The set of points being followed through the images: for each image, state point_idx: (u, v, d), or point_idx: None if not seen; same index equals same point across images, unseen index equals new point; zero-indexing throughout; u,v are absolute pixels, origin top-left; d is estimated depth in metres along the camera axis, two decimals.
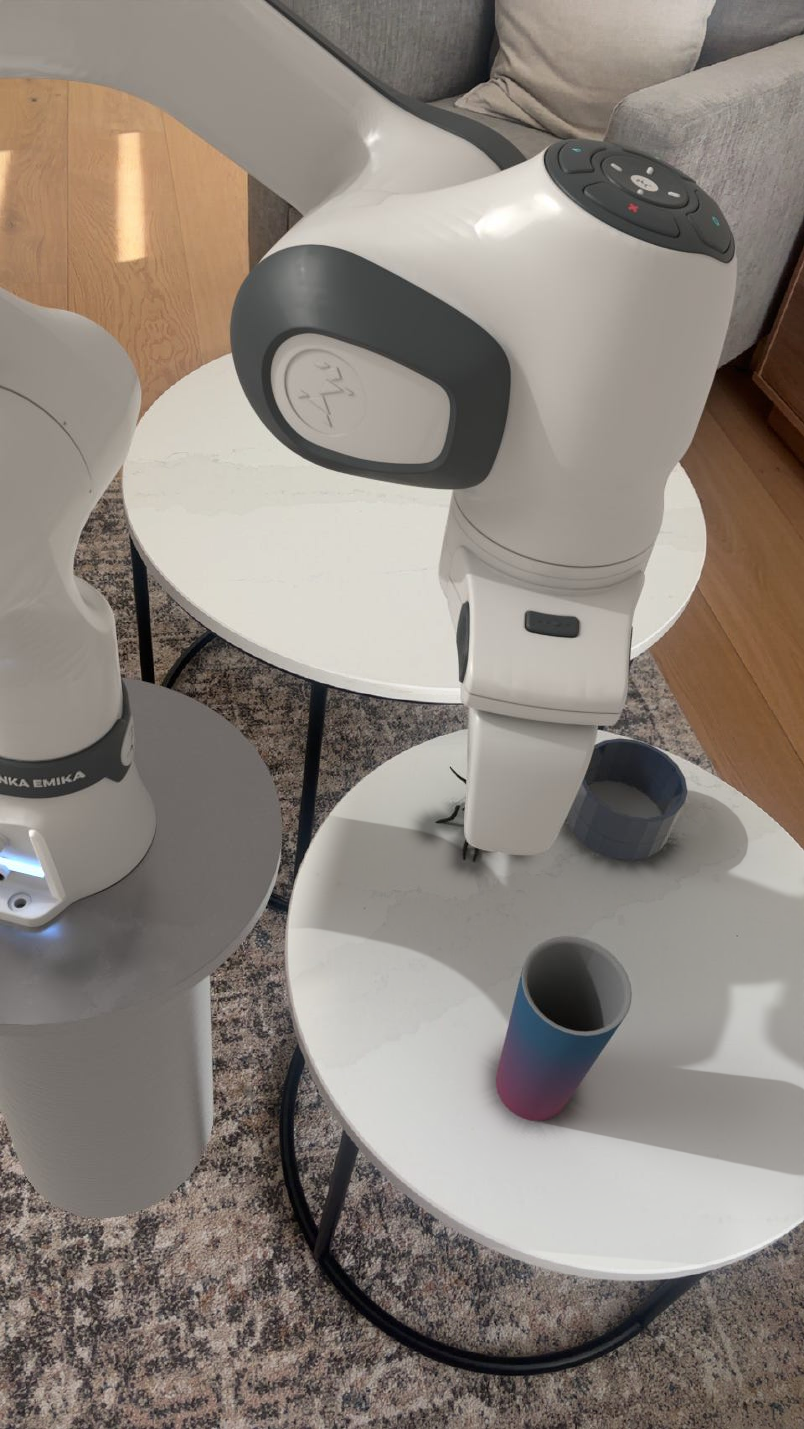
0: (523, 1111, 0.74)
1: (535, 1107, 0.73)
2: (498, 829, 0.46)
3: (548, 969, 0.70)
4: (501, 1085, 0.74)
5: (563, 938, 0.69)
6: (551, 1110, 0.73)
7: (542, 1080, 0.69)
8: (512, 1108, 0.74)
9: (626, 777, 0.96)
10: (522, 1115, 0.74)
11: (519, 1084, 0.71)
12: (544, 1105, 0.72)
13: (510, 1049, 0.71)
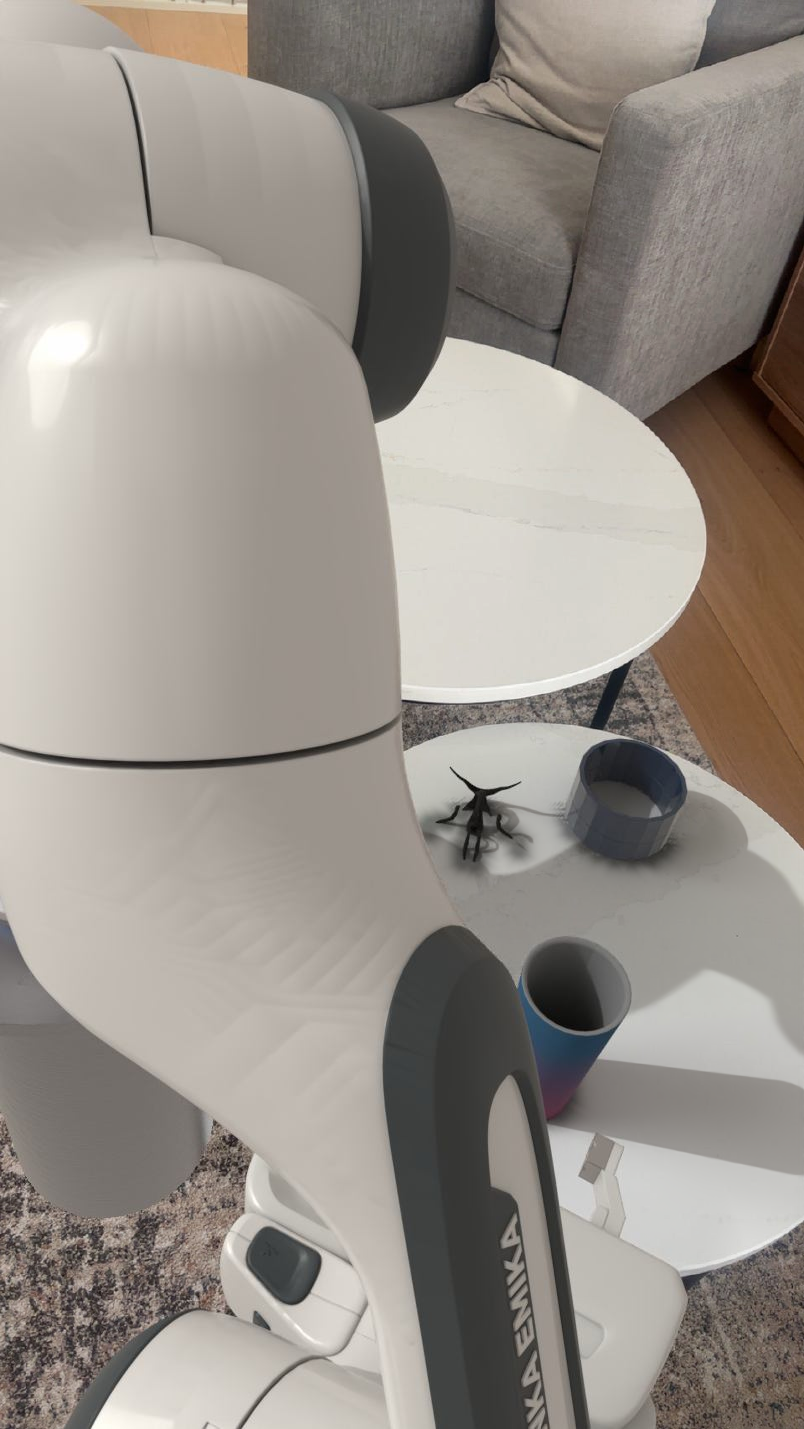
0: None
1: None
2: None
3: (548, 969, 0.70)
4: None
5: (563, 938, 0.69)
6: (551, 1110, 0.73)
7: (542, 1080, 0.69)
8: None
9: (626, 777, 0.96)
10: None
11: None
12: (544, 1105, 0.72)
13: None
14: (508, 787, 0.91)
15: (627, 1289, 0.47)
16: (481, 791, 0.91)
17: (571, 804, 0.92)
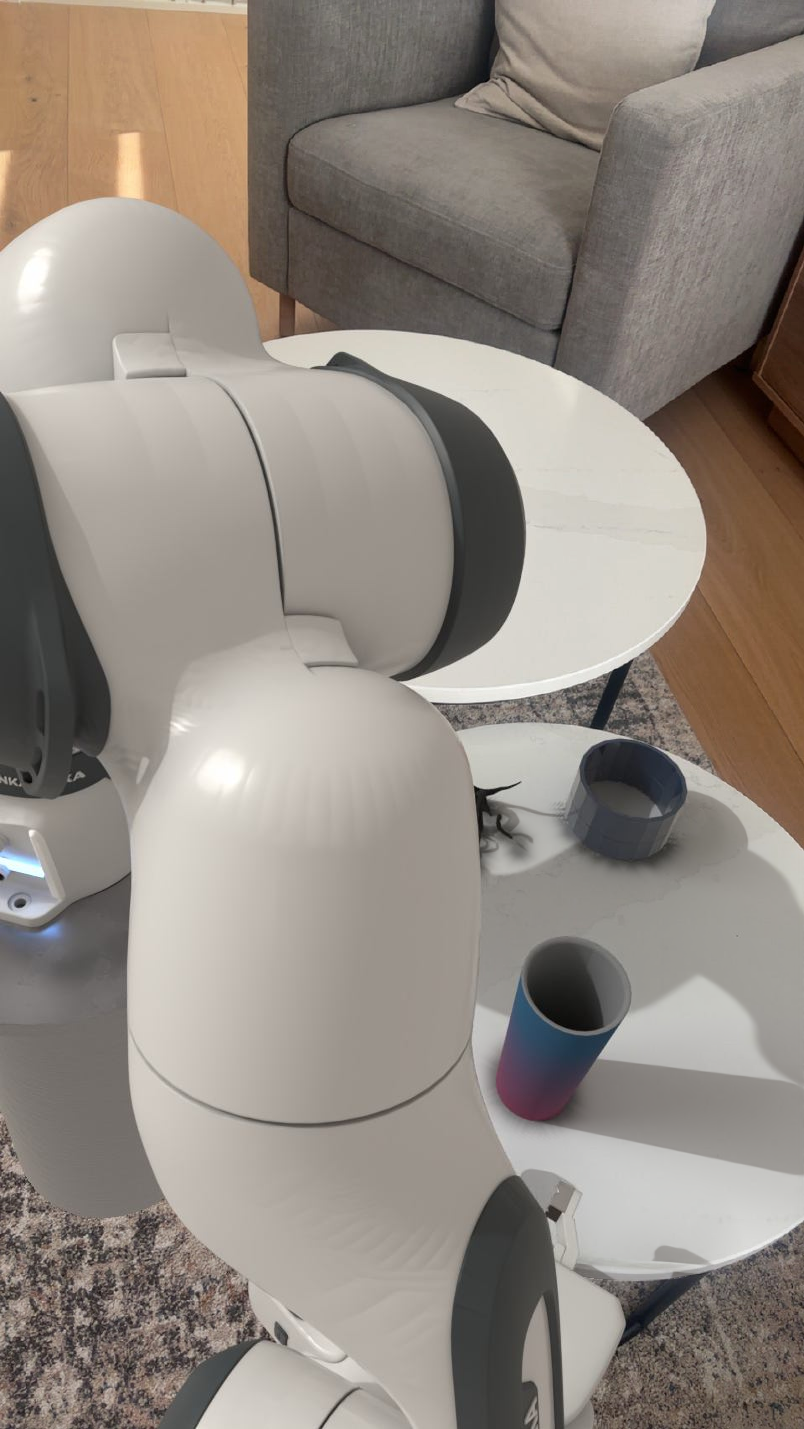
0: (523, 1111, 0.74)
1: (535, 1107, 0.73)
2: None
3: (548, 969, 0.70)
4: (501, 1085, 0.74)
5: (563, 938, 0.69)
6: (551, 1110, 0.73)
7: (542, 1080, 0.69)
8: (512, 1108, 0.74)
9: (626, 777, 0.96)
10: (522, 1115, 0.74)
11: (519, 1084, 0.71)
12: (544, 1105, 0.72)
13: (510, 1049, 0.71)
14: (508, 787, 0.91)
15: (576, 1314, 0.58)
16: (481, 791, 0.91)
17: (571, 804, 0.92)
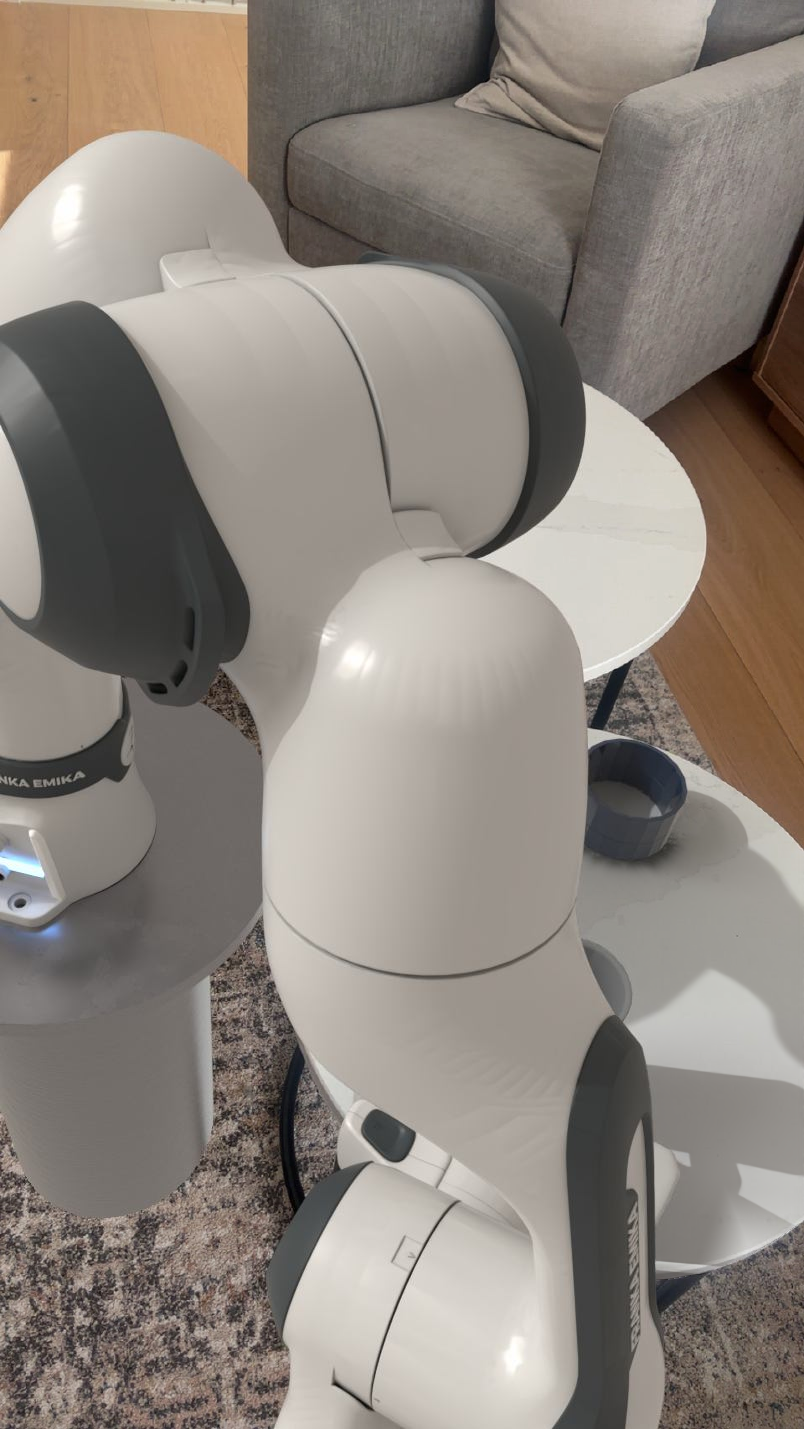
0: None
1: None
2: None
3: None
4: None
5: None
6: None
7: None
8: None
9: (626, 777, 0.96)
10: None
11: None
12: None
13: None
14: None
15: None
16: None
17: None
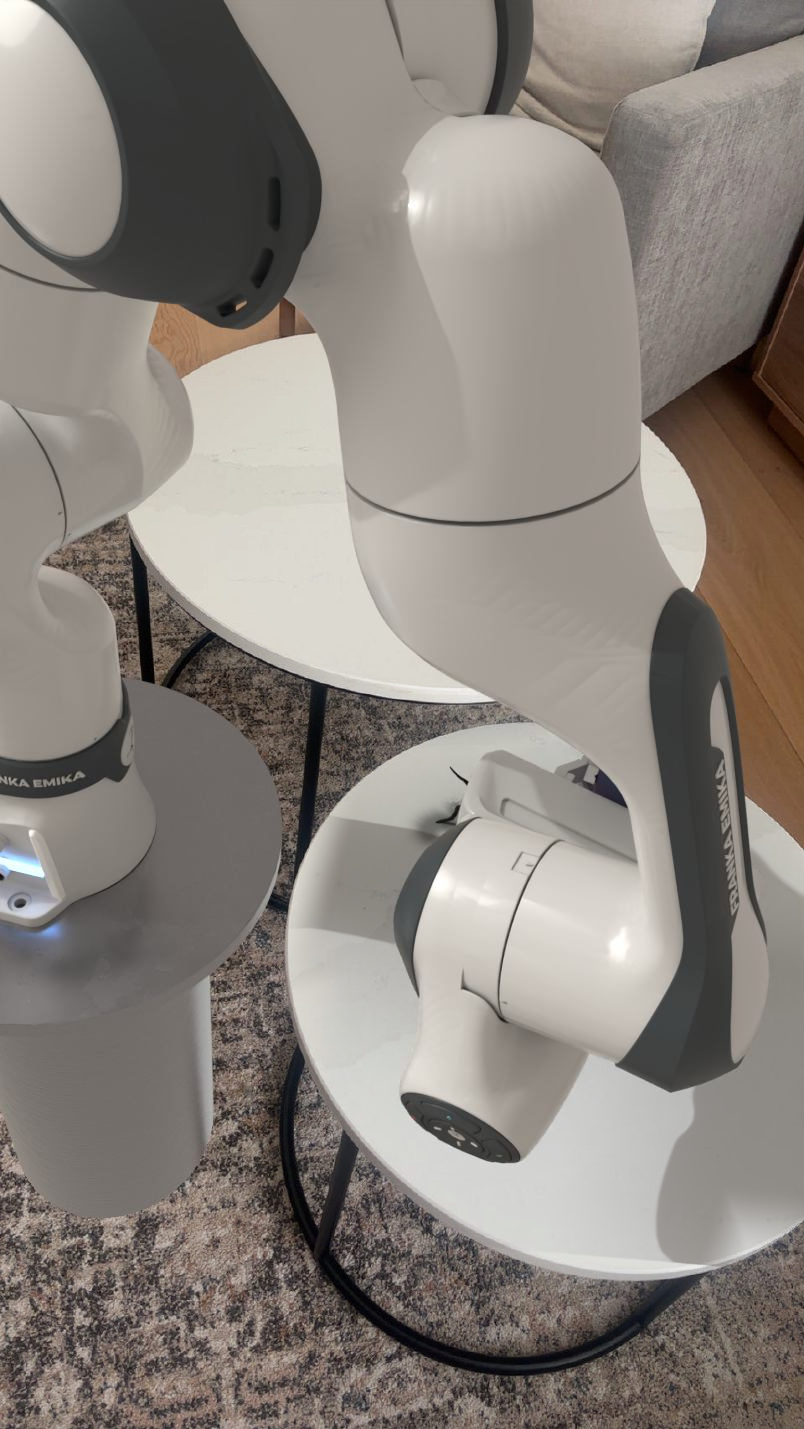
0: None
1: None
2: None
3: None
4: None
5: None
6: None
7: None
8: None
9: None
10: None
11: None
12: None
13: (601, 793, 0.75)
14: None
15: None
16: None
17: None
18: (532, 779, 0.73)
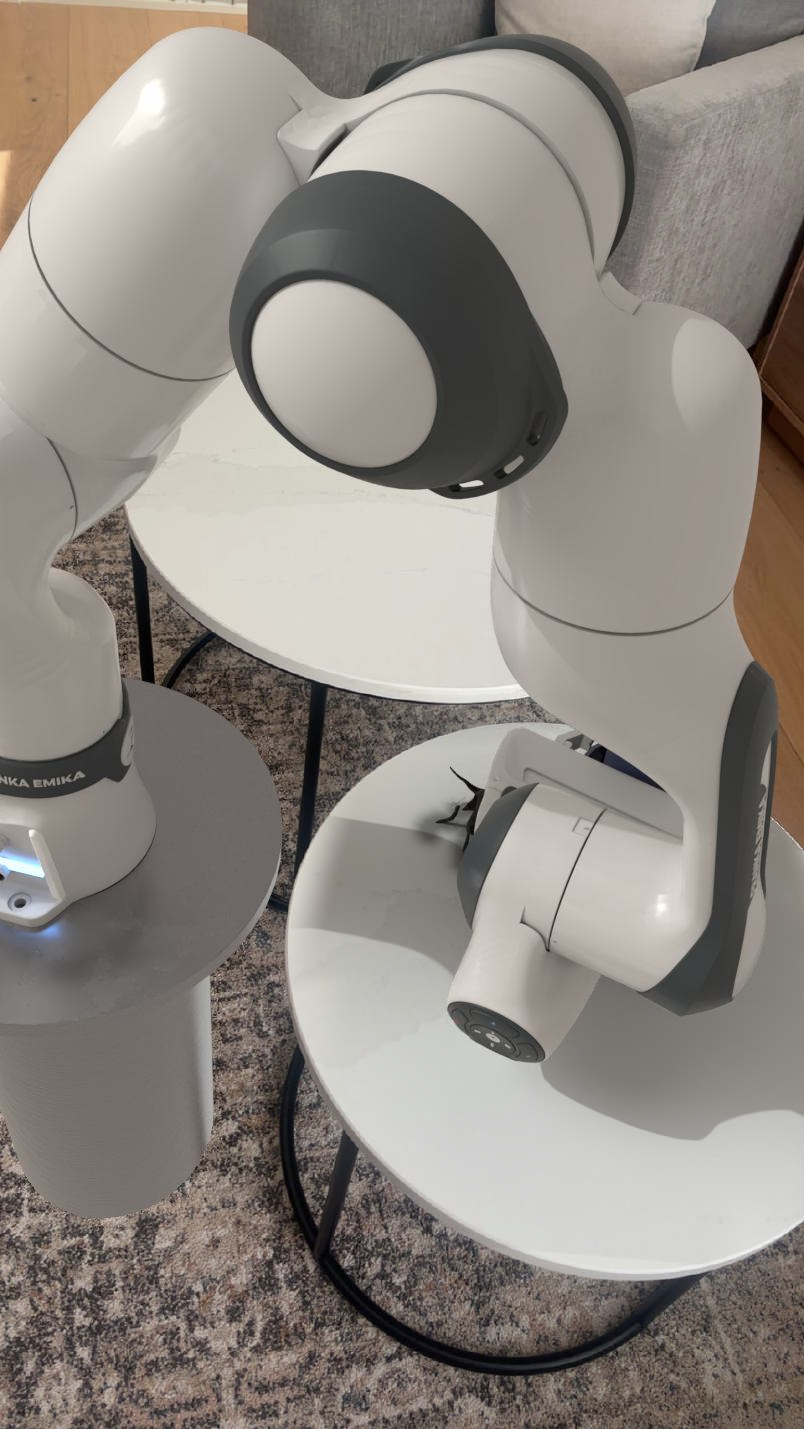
0: None
1: None
2: None
3: None
4: None
5: None
6: None
7: None
8: None
9: None
10: None
11: None
12: None
13: None
14: None
15: None
16: (481, 791, 0.91)
17: None
18: (549, 752, 0.85)
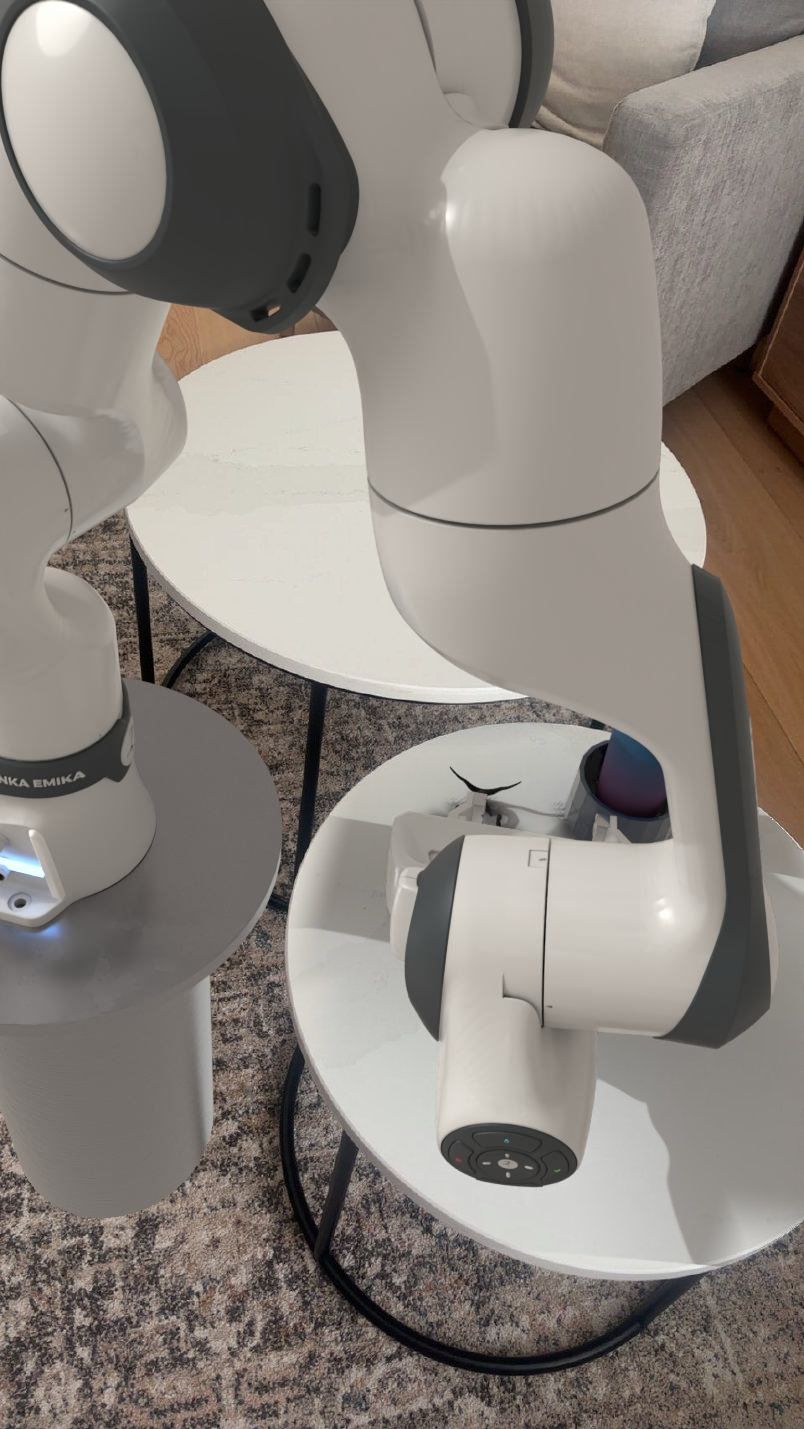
0: None
1: None
2: None
3: None
4: None
5: None
6: None
7: (635, 790, 0.87)
8: None
9: None
10: None
11: (615, 800, 0.89)
12: None
13: (608, 769, 0.88)
14: (508, 787, 0.91)
15: None
16: (481, 791, 0.91)
17: (571, 804, 0.92)
18: (447, 829, 0.74)
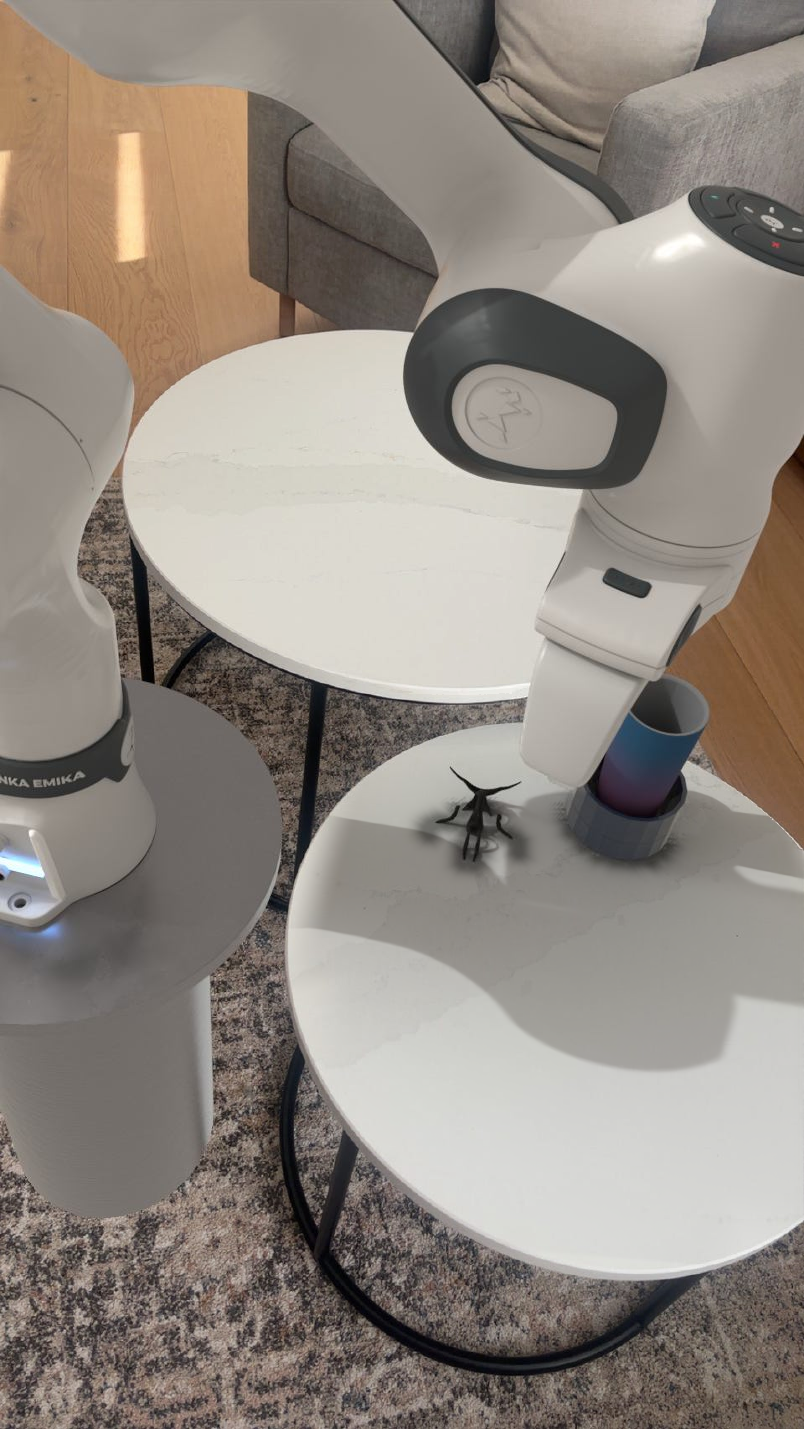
0: None
1: None
2: (544, 749, 0.53)
3: (639, 704, 0.88)
4: None
5: None
6: None
7: (635, 790, 0.87)
8: None
9: None
10: None
11: (615, 800, 0.89)
12: None
13: (608, 769, 0.88)
14: (508, 787, 0.91)
15: None
16: (481, 791, 0.91)
17: (571, 804, 0.92)
18: None
